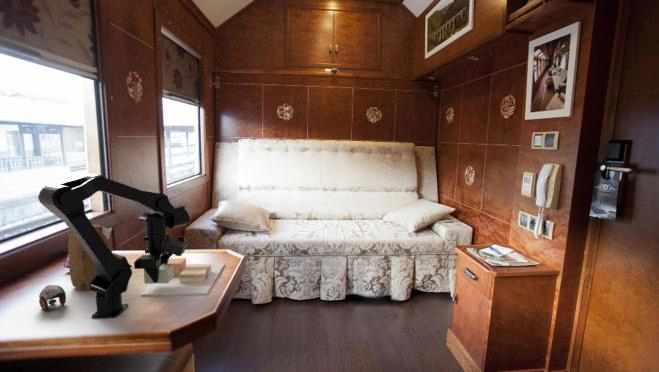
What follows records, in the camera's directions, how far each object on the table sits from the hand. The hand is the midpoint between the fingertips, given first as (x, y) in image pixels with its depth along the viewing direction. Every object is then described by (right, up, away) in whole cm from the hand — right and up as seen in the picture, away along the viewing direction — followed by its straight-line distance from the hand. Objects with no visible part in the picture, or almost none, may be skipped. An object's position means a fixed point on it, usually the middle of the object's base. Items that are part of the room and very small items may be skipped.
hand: (159, 278), depth 104 cm
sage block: (0, 0, 0) cm, 0 cm away
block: (-24, -3, +3) cm, 24 cm away
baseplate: (+5, -3, +9) cm, 11 cm away
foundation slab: (+8, -2, +9) cm, 12 cm away
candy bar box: (-34, 0, +11) cm, 36 cm away
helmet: (-24, -5, -12) cm, 27 cm away
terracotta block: (-1, -1, +12) cm, 12 cm away
